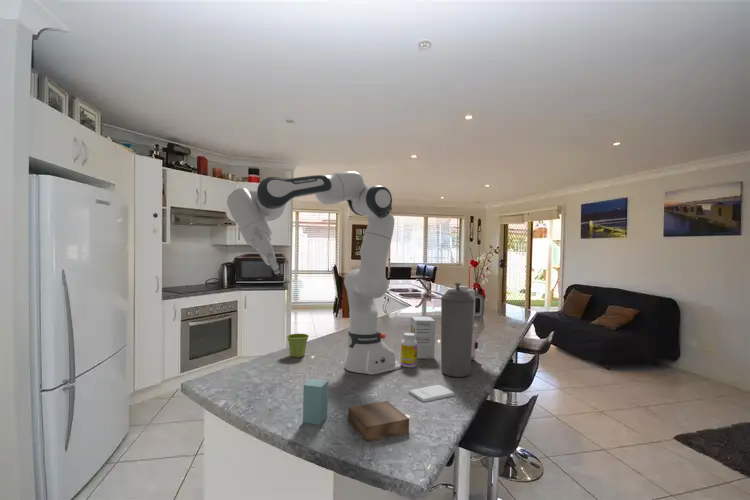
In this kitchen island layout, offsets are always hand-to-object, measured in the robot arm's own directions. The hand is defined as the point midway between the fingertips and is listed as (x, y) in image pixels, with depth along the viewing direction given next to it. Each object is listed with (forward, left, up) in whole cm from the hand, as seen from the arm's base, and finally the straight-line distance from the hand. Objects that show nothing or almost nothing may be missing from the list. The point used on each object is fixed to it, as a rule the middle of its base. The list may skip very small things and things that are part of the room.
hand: (277, 270), depth 119 cm
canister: (-68, +8, -39) cm, 78 cm away
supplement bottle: (-55, -7, -39) cm, 68 cm away
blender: (-83, -5, -39) cm, 91 cm away
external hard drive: (-47, +22, -40) cm, 65 cm away
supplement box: (-69, -17, -39) cm, 81 cm away
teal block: (-7, +25, -39) cm, 47 cm away
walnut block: (-21, +35, -39) cm, 57 cm away
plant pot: (-17, -36, -39) cm, 56 cm away
